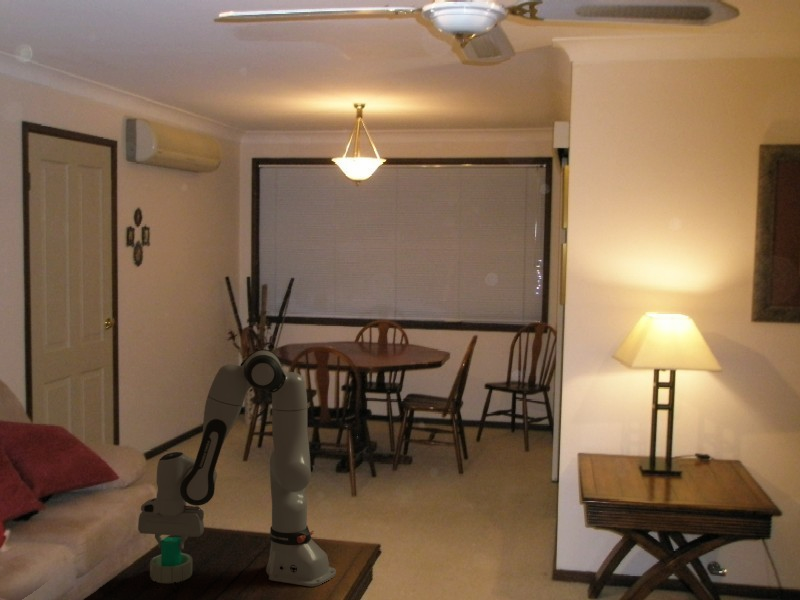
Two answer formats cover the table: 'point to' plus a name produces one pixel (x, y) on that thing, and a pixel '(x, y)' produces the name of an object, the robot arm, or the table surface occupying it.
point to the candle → (170, 551)
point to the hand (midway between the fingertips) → (171, 548)
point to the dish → (171, 570)
